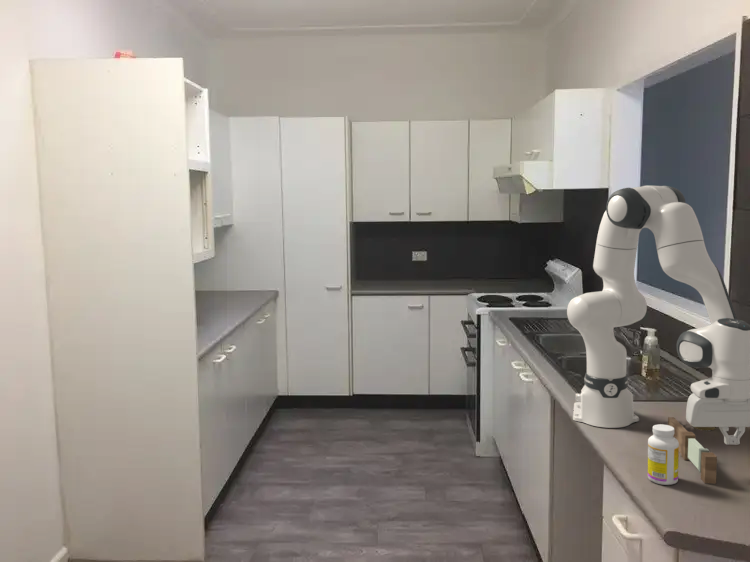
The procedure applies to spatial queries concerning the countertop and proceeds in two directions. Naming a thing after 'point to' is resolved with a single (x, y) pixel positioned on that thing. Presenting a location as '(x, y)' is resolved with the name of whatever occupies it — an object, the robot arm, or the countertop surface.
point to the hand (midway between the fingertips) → (731, 443)
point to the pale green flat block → (695, 452)
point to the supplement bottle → (663, 455)
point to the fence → (706, 457)
